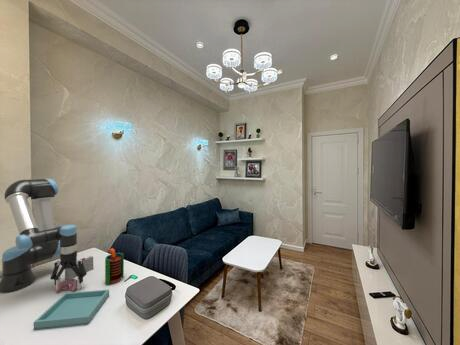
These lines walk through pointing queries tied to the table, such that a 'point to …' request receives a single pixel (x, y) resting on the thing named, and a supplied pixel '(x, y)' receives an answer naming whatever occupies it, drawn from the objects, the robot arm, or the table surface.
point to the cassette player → (87, 265)
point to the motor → (114, 267)
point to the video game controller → (66, 284)
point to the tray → (72, 309)
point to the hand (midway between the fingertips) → (69, 289)
